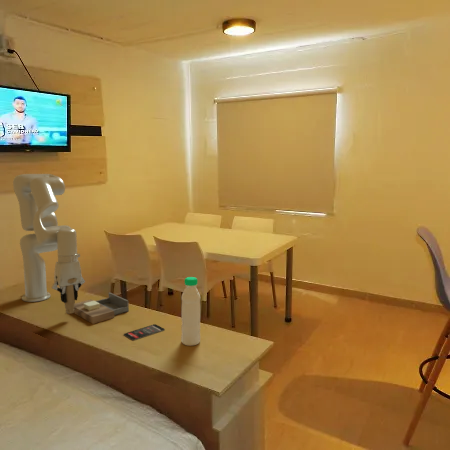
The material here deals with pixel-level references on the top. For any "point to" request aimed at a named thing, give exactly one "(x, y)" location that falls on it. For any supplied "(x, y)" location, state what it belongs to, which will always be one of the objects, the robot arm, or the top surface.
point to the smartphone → (143, 332)
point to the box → (115, 304)
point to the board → (93, 312)
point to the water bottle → (190, 313)
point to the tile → (91, 305)
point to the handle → (70, 297)
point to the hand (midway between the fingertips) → (69, 300)
